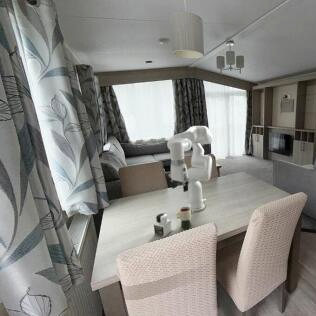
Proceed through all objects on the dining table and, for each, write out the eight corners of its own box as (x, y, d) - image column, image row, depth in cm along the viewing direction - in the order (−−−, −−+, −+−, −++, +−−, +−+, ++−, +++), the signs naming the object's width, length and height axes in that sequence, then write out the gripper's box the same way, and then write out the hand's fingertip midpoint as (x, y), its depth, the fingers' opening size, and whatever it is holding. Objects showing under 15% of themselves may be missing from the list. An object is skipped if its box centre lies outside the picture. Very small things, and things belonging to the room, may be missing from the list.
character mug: (192, 222, 132) (191, 204, 128) (196, 227, 126) (195, 209, 123) (176, 227, 126) (174, 209, 123) (179, 233, 120) (177, 214, 117)
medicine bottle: (154, 234, 119) (152, 216, 116) (162, 228, 125) (160, 211, 122) (164, 237, 116) (162, 219, 113) (172, 230, 123) (170, 213, 120)
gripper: (193, 162, 113) (195, 190, 117) (172, 158, 121) (174, 184, 126) (183, 165, 107) (185, 194, 111) (162, 161, 115) (165, 188, 119)
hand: (180, 189), depth 118 cm, fingers open, 9 cm apart
